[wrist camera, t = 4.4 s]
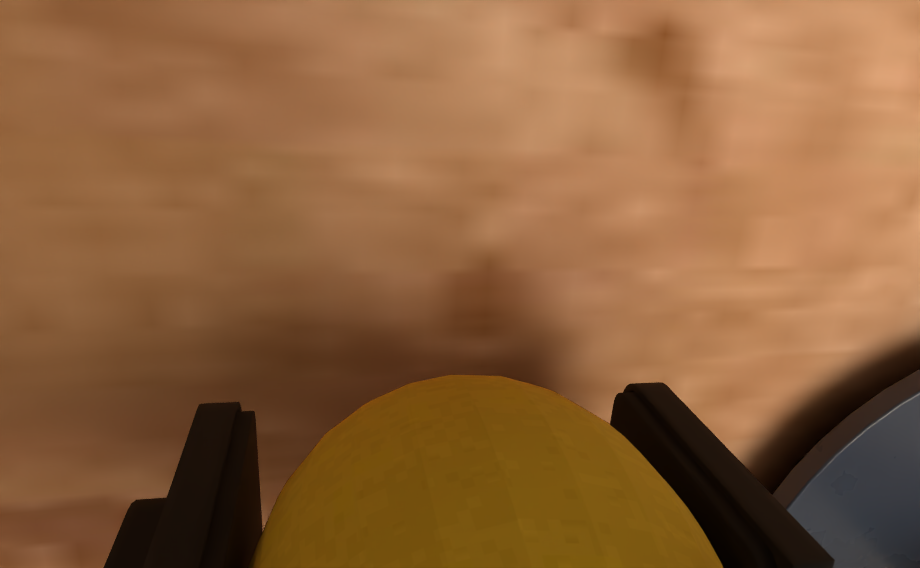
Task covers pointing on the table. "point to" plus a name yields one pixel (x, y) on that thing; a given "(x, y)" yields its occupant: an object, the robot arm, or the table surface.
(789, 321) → the table surface
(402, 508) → the lemon
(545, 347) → the table surface
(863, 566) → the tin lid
